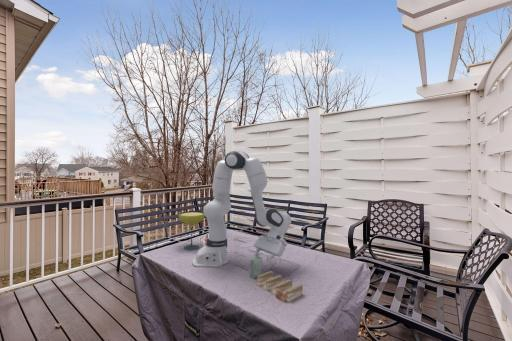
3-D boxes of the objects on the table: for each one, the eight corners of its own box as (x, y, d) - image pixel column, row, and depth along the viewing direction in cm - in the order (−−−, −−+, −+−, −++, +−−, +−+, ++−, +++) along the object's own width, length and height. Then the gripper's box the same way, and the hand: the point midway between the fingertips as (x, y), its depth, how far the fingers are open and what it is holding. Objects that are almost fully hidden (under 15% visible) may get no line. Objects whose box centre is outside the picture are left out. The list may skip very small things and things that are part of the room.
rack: (255, 285, 126) (255, 276, 126) (270, 279, 134) (271, 270, 134) (286, 303, 110) (286, 293, 110) (302, 294, 118) (302, 285, 118)
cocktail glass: (176, 245, 187) (177, 212, 186) (201, 242, 194) (201, 210, 194) (180, 253, 170) (180, 216, 170) (206, 249, 178) (207, 214, 177)
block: (249, 277, 136) (250, 259, 135) (258, 274, 140) (258, 256, 139) (253, 279, 133) (253, 260, 133) (261, 276, 137) (262, 257, 137)
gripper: (259, 230, 151) (246, 250, 145) (284, 238, 136) (271, 260, 130) (264, 236, 155) (252, 256, 148) (289, 244, 139) (277, 266, 133)
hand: (261, 258), depth 139 cm, fingers open, 8 cm apart
